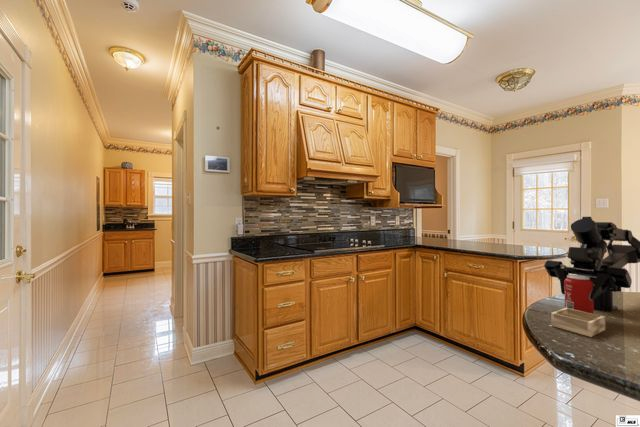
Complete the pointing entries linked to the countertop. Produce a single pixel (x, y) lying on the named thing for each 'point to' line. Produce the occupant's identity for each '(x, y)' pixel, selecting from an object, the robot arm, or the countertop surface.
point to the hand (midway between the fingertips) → (576, 296)
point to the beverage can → (578, 293)
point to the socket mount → (578, 321)
